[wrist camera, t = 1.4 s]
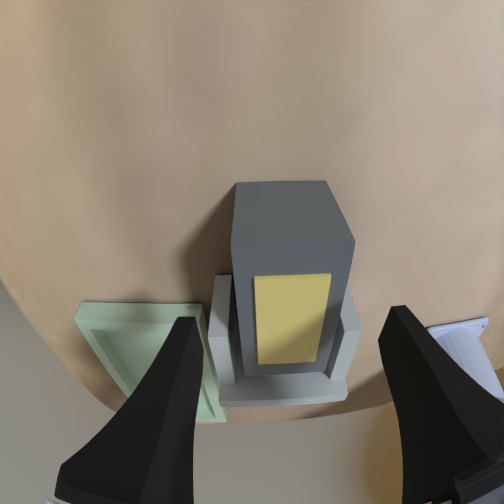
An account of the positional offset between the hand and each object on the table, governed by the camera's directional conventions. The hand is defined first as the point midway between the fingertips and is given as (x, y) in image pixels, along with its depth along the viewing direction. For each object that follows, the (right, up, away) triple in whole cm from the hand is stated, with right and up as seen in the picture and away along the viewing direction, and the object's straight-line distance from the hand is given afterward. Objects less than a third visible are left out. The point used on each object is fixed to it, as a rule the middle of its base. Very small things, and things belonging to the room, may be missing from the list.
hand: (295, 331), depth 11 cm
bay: (0, -1, +10) cm, 10 cm away
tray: (-9, -8, +15) cm, 19 cm away
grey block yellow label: (0, +3, +7) cm, 8 cm away
